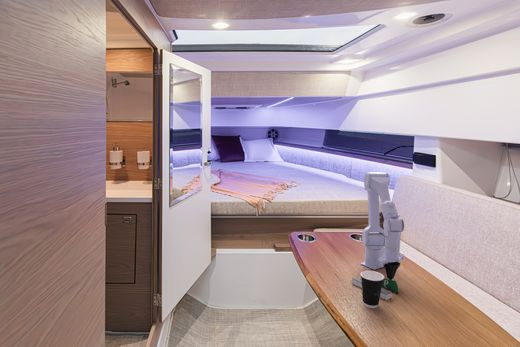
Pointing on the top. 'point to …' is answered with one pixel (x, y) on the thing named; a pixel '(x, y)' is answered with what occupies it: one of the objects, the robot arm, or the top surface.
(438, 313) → the top surface
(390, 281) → the gaming controller
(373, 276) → the dixie cup
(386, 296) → the bar
